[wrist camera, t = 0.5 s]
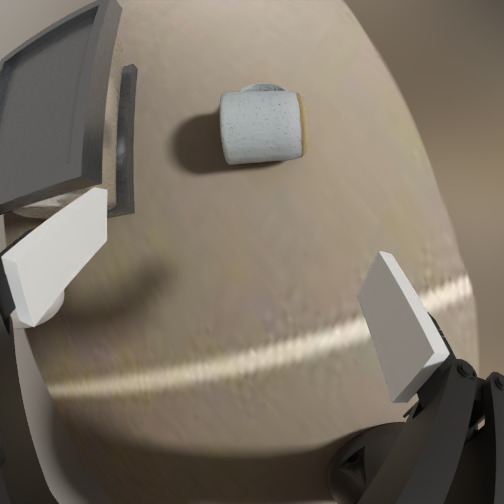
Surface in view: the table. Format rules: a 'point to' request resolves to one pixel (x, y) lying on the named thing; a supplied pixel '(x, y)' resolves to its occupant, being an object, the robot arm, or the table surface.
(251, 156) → the ceramic mug
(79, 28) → the grey piece
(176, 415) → the table surface
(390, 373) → the robot arm
